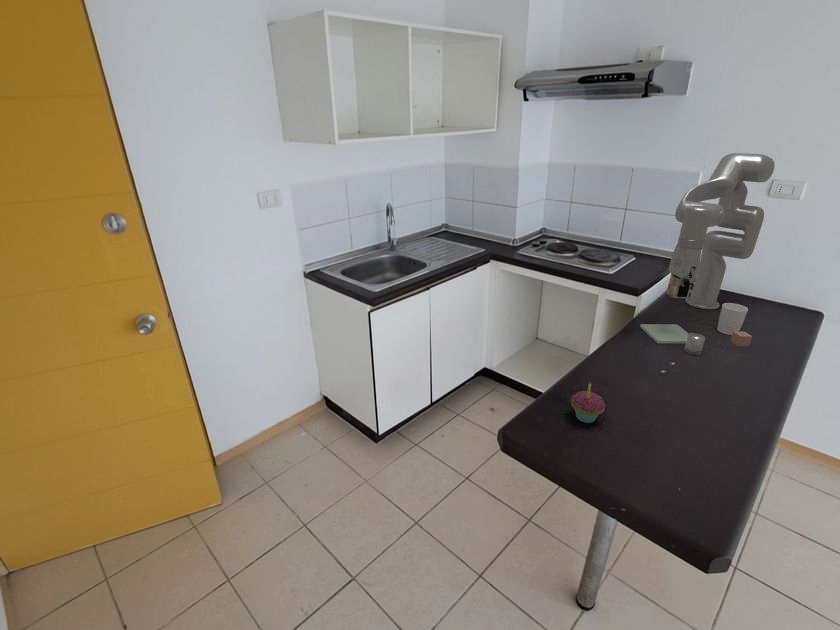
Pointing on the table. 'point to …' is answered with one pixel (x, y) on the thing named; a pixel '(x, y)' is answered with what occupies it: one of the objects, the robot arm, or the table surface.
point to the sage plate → (665, 333)
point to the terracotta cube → (741, 338)
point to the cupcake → (587, 405)
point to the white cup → (731, 318)
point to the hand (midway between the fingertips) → (677, 293)
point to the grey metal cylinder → (694, 343)
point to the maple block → (675, 286)
